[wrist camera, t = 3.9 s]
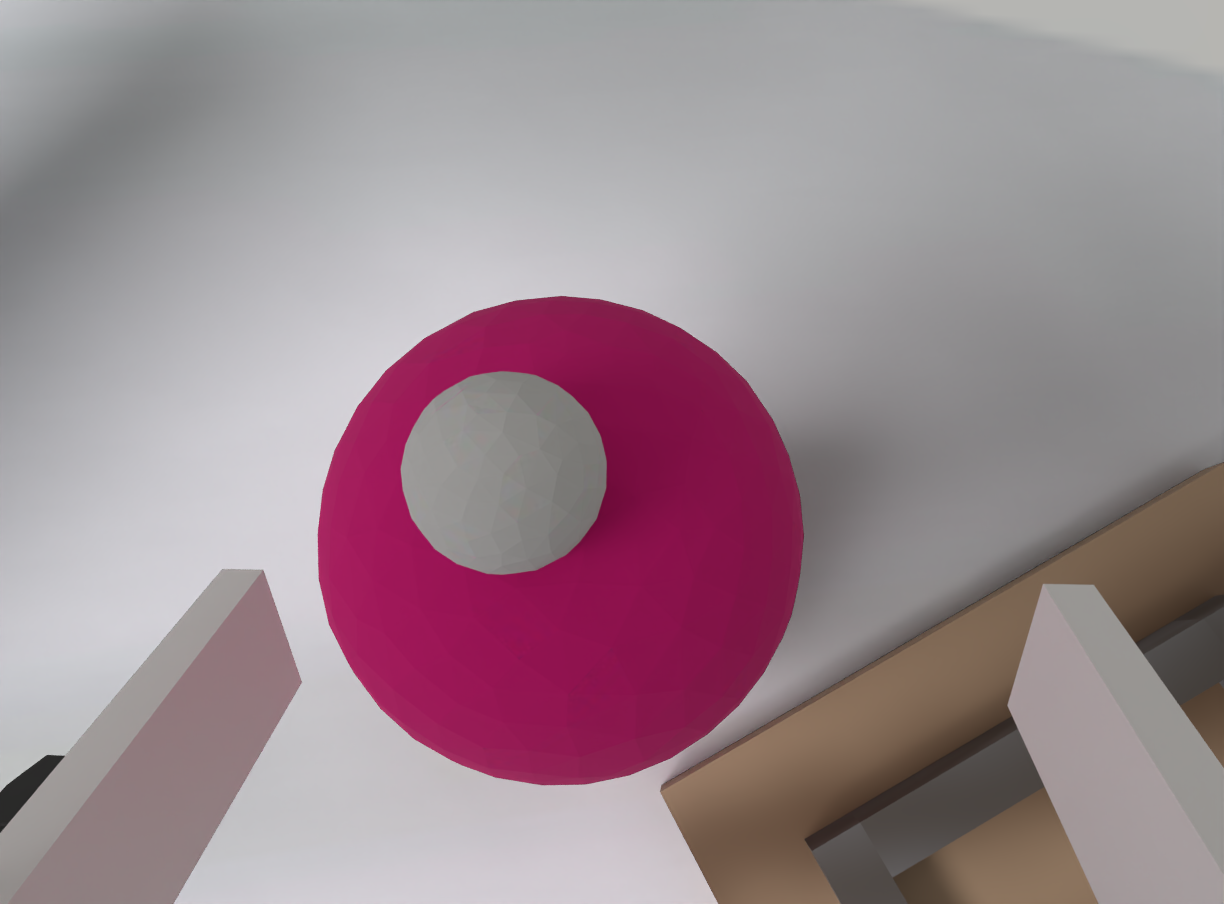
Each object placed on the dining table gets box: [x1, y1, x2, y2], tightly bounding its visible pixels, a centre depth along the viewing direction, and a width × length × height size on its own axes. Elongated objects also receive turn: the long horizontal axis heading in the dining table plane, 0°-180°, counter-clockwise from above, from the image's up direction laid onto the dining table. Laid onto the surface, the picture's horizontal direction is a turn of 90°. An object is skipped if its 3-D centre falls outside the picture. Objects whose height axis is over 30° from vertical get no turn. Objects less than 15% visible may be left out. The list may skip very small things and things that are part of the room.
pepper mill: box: [318, 296, 804, 785], centre depth 15 cm, size 7×7×20 cm
